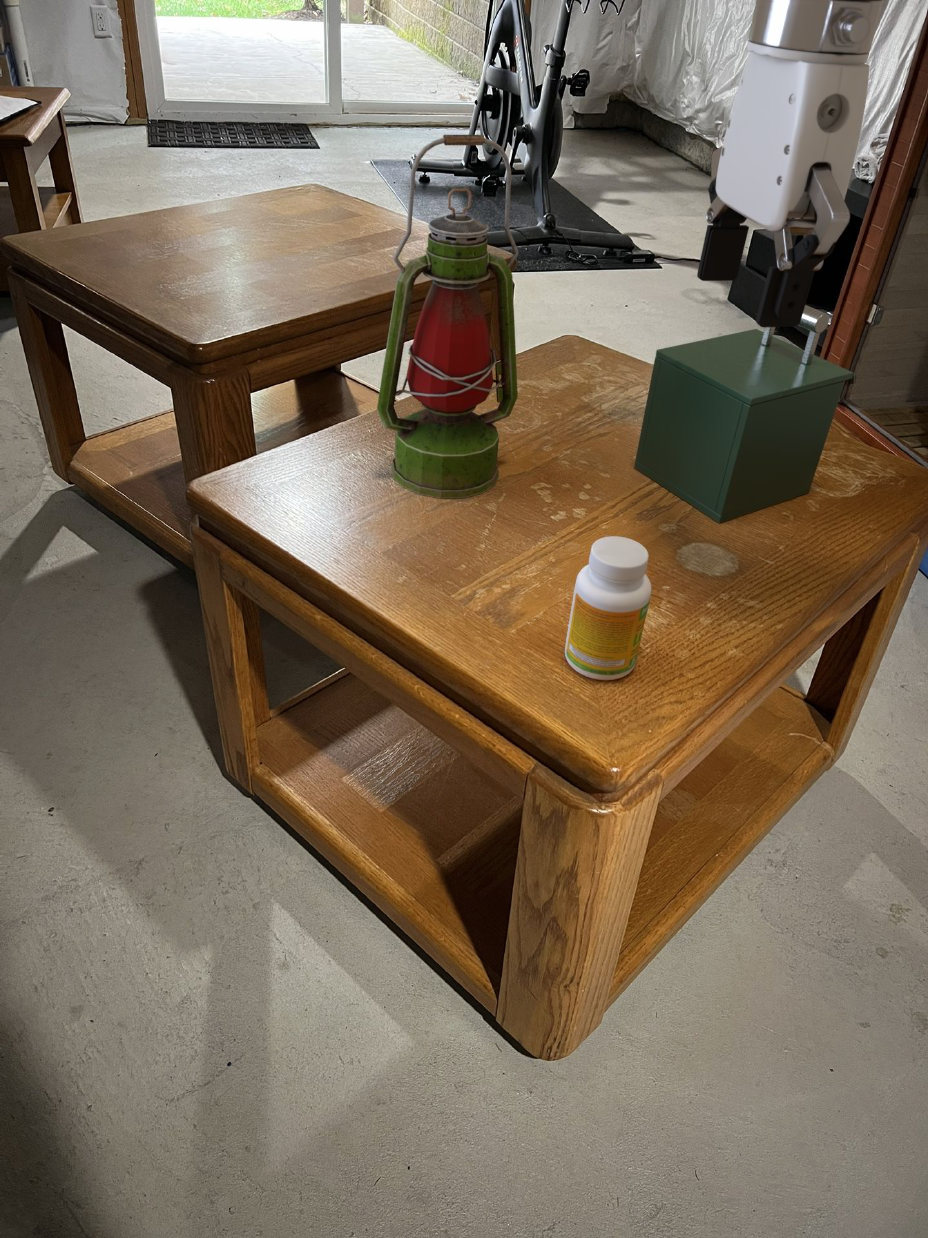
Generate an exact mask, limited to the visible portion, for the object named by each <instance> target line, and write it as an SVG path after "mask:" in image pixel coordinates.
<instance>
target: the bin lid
mask: <svg viewBox="0 0 928 1238" xmlns="http://www.w3.org/2000/svg"><path fill="white" fill-rule="evenodd" d="M829 322H830V315H829V314H828V313H826V312H824V311H821V310H819V309H817V308H815V307H811V306H809V305H807V304H805V308H804V311H803V315H802V318H801V322H800V323H799V324H798V325H797V326H798V327H802V328H804V329H806V330H808V331H809V332H808V337H807V339H806V343H805V347H804V349H802V348H800V347H798V346H796V345H793V344H791V343H789V342H786V341H785V340H783V339H780V338H777V337H775V336H774V333H775V330H776V327H764V330H763V331H762V330H760V329H758V328H753V329H749V330H744V331H740V332H734V333H730V334H725V335H720V336H715V337H711V338H706V339H702V340H695V341H691V342H687V343H682V344H677V345H673V346H668V347H664V348H659V349H656V351H655V356H657V357H659V358H661V359H663V360H665V361H667V362H669V363H671V364H673V365H674V366H676V367H678V368H680V369H682V370H684V371H686V372H688V373H690V374H692V375H694V376H695V377H697V378H699V379H701V380H703V381H705V382H707V383H709V384H711V385H713V386H715V387H716V388H718V389H720V390H722V391H724V392H726V393H728V394H730V395H732V396H734V397H735V398H737V399H739V400H741V401H743V402H745V403H747V404H749V405H754V404H757V403H761V402H765V401H769V400H773V399H776V398H780V397H784V396H788V395H792V394H795V393H799V392H803V391H807V390H810V389H814V388H818V387H822V386H826V385H829V384H833V383H837V382H841V381H845V382H846V381H848V380H851V379H853V376H854V374H855V373H854V372H853V371H851V370H848V369H846V368H844V367H842V366H841V365H837V364H835V363H833V362H831V361H829V360H826V359H824V358H822V357H821V356H820V357H819V356H818V355H815V351H816V348H817V345H818V342H819V338H820V335H821V333H823V332H824V331H825V330H826V329H827V327H828V325H829Z"/></svg>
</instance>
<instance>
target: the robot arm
mask: <svg viewBox="0 0 928 1238" xmlns="http://www.w3.org/2000/svg"><path fill="white" fill-rule="evenodd" d="M884 2H885V0H755V5H754V6H755V7H754V9H753V15H752V19H751V23H750V29H749V33H748V38H747V39H748V40H747V43H746V48H745V50H746V51H747V52H748V55H747V57H746V60H745V63H744V66H743V70H742V73H741V76H740V78H739V82H738V86H737V89H736V92H735V96H734V99H733V103H732V105H731V106H732V107H731V112H730V114H729V118H728V122H727V126H726V129H725V133H724V138H723V142H722V145H721V146H720V147H719V148H717V149H715V150H714V151H713V152H712V155H711V161H710V163H711V164H710V165H711V169H710V170H711V171H710V172H711V174H710V175H711V176H710V179H711V181H710V183H709V185H708V186H709V187H708V188H707V191H708V194H709V202H710V205H709V207H708V208H707V211H706V214H705V216H706V217H705V218H706V222H707V226H706V231H705V235H704V240H703V245H702V250H701V253H700V258H699V264H698V268H697V274H696V276H697V279H699V280H700V281H701V282H723V281H724V282H726V281H727V282H729V281H730V282H731V281H735V280H736V279H738V275H739V271H740V268H741V263H742V259H743V254H744V250H745V246H746V242H747V238H748V234H749V230H750V226H748V225H747V224H744V223H745V222H746V221H747V219H748V220H749V221H751V222H753V223H754V224H756V225H758V226H760V227H761V228H763V229H764V230H767V231H770V232H773V241H774V250H775V259H776V260H775V261H776V265H775V266H774V265H769V268H768V271H767V274H766V278H765V283H764V286H763V289H762V290H763V291H762V294H761V297H760V298H761V299H760V303H759V306H758V310H757V314H756V318H755V323H756V324H757V326H759V327H761V328H765V327H775V328H792V327H794V328H795V327H797V326H799V325H798V324H799V323H800V322H801V318H802V315H803V311H804V308H805V305H807V300H808V297H809V293H810V290H811V287H812V283H813V279H814V277H815V273H816V271H817V272H818V271H820V270H821V269H822V267H823V266H824V260H825V259H827V257H829V256H830V255H831V254H832V253H833V252H834V250H835V248H836V243H837V241H838V240H839V238H840V236H841V235H842V234H843V232H844V231H845V229H846V228H847V226H848V225H849V223H850V219H851V213H850V210H849V208H848V206H847V204H846V202H845V199H846V195H847V192H848V188H849V184H850V180H851V175H852V171H853V169H854V164H855V159H856V155H857V150H858V145H859V142H860V141H859V140H860V136H861V131H862V127H863V120H864V116H865V110H866V103H867V94H868V87H869V76H870V64H866V63H867V62H868V60H869V55H870V51H871V50H872V49H871V48H872V47H873V46H872V45H873V42H874V39H875V35H876V31H877V28H878V24H879V21H880V16H881V13H882V10H883V6H884ZM793 236H802V239H801V240H800V241H798V242H797V244H795V245H794V246H793V238H792V237H793Z"/></svg>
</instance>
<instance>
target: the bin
mask: <svg viewBox="0 0 928 1238" xmlns="http://www.w3.org/2000/svg"><path fill="white" fill-rule="evenodd" d="M845 382H846V380H845V381H841V382H837V383H833V384H829V385H826V386H822V387H818V388H814V389H810V390H807V391H803V392H799V393H795V394H792V395H788V396H784V397H780V398H776V399H773V400H769V401H765V402H761V403H757V404H754V405H749V404H747V403H745V402H743V401H741V400H739V399H737V398H735V397H734V396H732V395H730V394H728V393H726V392H724V391H722V390H720V389H718V388H716V387H715V386H713V385H711V384H709V383H707V382H705V381H703V380H701V379H699V378H697V377H695V376H694V375H692V374H690V373H688V372H686V371H684V370H682V369H680V368H678V367H676V366H674V365H673V364H671V363H669V362H667V361H665V360H663V359H661V358H659V357H657V356H656V355H655V357H654V361H653V367H652V372H651V377H650V383H649V387H648V393H647V398H646V404H645V408H644V412H643V413H644V414H643V418H642V425H641V429H640V434H639V440H638V444H637V450H636V454H635V455H636V456H635V459H634V460H635V461H634V466H633V468H634V469H635V470H636V471H638V472H640V473H642V474H643V475H645V477H647V478H649V479H650V480H652V481H654V482H655V483H657V484H658V485H659V486H661V487H663V488H664V489H666V490H667V491H669V492H670V493H672V494H673V495H675V496H676V497H678V498H679V499H681V500H682V501H684V502H686V503H687V504H689V505H690V506H692V507H693V508H695V509H696V510H698V511H700V512H701V513H703V515H705V516H707V517H709V518H710V519H712V520H713V521H714V522H716V523H718V524H721V523H724V522H728V521H731V520H733V519H737V518H739V517H743V516H745V515H748V514H751V513H754V512H758V511H760V510H763V509H766V508H768V507H772V506H775V505H777V504H781V503H783V502H786V501H789V500H792V499H795V498H798V497H801V496H803V495H806V494H807V495H808V494H809V493H810V490H811V487H812V484H813V481H814V477H815V475H816V472H817V469H818V466H819V463H820V460H821V457H822V455H823V450H824V447H825V444H826V441H827V438H828V435H829V432H830V429H831V426H832V424H833V420H834V417H835V414H836V410H837V408H838V404H839V401H840V398H841V395H842V392H843V390H844V386H845Z"/></svg>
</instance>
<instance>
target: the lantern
mask: <svg viewBox="0 0 928 1238" xmlns="http://www.w3.org/2000/svg"><path fill="white" fill-rule="evenodd" d="M442 144H443V145H444V146H483V145H488V146H490V147H492V148H493V149H495V150H496V151H497V152H499V155H500V156H501V158H502V159H503V162H504V167H505V170H506V176H505V177H506V180H505V181H506V182H505V203H504V204H505V205H504V206H505V207H504V232H505V234H506V237H507V239H508V242H509V245H510V246H511V248H512V250H513V254H512V256H511V257H510V259H508V261H506V260H505V258H504V257H503V256H501V255H497V254H494V253H490V252H489V251H488V243H489V241H488V238H487V237H488V236H486V235H487V234H488V233H489V226H488V225H487V224H486V223H484V222H482V221H481V220H478V219H476V218H474V217H473V216H470V215H467V214H466V211H468V210H470V209H471V206H472V197H473V195H472V192H471V190H469V188H468V187H464V188H463V187H462V188H455V187H453V188H452V189H451V190H450V191H449V192H448V195H447V208H448V210H449V211H451V213H449V214H446V215H444V216H440V217H437V218H433V219H431V220H430V221H429V222H428V226H427V227H428V230H429V231H430V233H428V234H427V247H426V252H425V254H424V255H421V256H419V257H416V258H413V259H410V260H408V262H407V263H406V265H405V266H403V263H402V262H401V261H400V259H399V257H400V254H401V253H402V251H403V249H404V247H405V245H406V244H407V241H408V240H409V238H410V236H411V234H412V226H413V214H414V213H413V211H414V201H415V200H414V199H415V197H414V196H415V184H416V173H417V170H418V167H419V164H420V162H421V160H422V158H423V157H424V156H425V155H426V153H428V152H429V151H430V150H432V149H433V148H434V147H436V146H439V145H442ZM412 164H413V165H412V168H411V170H410V178H409V192H408V193H409V194H408V207H407V208H408V209H407V220H406V222H407V223H406V231H405V233H404V235H403V237H402V239H401V240H400V243H399V244H398V247H397V249H396V250H395V252H394V255H393V257H392V258H393V261H394V263H395V265H396V266H397V268H398V269H399V271H400V273H399V275H398V276H397V279H396V283H395V289H394V296H393V302H392V309H391V315H390V321H389V329H388V333H387V334H388V335H387V341H386V348H385V353H384V361H383V366H382V373H381V379H380V386H379V393H378V399H377V406H376V410H377V413H378V416H379V419H380V422H381V425H382V427H383V429H387V430H391V431H394V432H395V434H394V435H395V436H394V443H395V444H394V458H393V459H392V462H391V472H392V473H391V474H392V478H393V479H394V480H395V481H396V482H397V483H398V484H399V485H400V486H401V487H402V488H404V489H407V490H408V491H411V492H413V493H415V494H418V495H419V496H426V497H431V498H436V499H465V498H468V497H473V496H478V495H482V494H483V493H485V492H486V491H488V490H489V489H491V488H493V487H494V486H495V485H496V483H497V481H498V479H499V476H500V475H499V474H500V472H499V466H498V456H499V455H498V454H499V444H500V434H499V432H498V428H497V426H496V425H494V424H495V423H497V422H499V421H502V420H503V419H506V418H508V417H510V416H511V414H512V411H513V409H514V406H515V404H516V402H517V400H518V397H519V395H518V370H517V369H518V368H517V349H516V325H515V323H516V322H515V307H514V306H515V305H514V304H515V302H514V301H515V299H514V282H513V281H514V280H513V277H514V276H513V273H512V270H511V268H510V267H511V266H512V265H513V263H514V262H515V260H516V259H517V258H518V256H519V249H518V247H517V245H516V242H515V239H514V237H513V235H512V233H511V230H510V213H511V212H510V210H511V209H510V208H511V189H512V188H511V186H512V168H511V164H510V160H509V157H508V155H507V153H506V151H505V149H503V147H502V146H501V145H499V144H498V143H497V142H496V141H494V140H492V139H489V138H486V137H485V135H484V134H443V135H442V137H440V138H438V139H435V140H432V141H431V142H429V143H428V144H426V145H425V146H423V148H422V149H421V150H420V151H419V153H418V154H417V155H416V156H415V158H414V161H413V163H412ZM454 192H466V193H467V194H468V202H467V203H468V204H467V206H465V207H463V209H462V211H461V212H456V209H455V207H453V206H451V201H452V195H453V193H454ZM491 273H492V274H493V275H494V279H495V288H496V289H495V291H496V305H497V307H496V308H497V309H496V310H497V326H498V344H499V345H498V346H499V360H498V361H497V360H496V354H495V350H494V348H492V347H491V343H490V341H491V340H490V333H489V328H488V323H487V318H486V312H485V307H484V303H483V300H482V296H481V293H480V290H479V286H478V285H479V283H482V282H483V281H487V280H488V279H489V277H490V276H491ZM421 274H422V275H424V276H425V277H427V279H431V280H432V282H431V285H430V287H429V289H428V292H427V294H426V297H425V300H424V302H423V305H422V308H421V312H420V314H419V317H418V321H417V324H416V327H415V332H414V335H413V341H412V344H410V345H409V348H408V352H407V353H408V355H409V361H408V365H407V371H406V376H405V378H404V381H403V384H402V388H401V389H398V386H399V385H398V384H399V378H400V372H401V366H402V361H403V360H402V359H403V354H404V347H405V343H406V342H405V341H406V335H407V329H408V324H409V323H408V322H409V316H410V310H411V305H412V300H413V299H412V298H413V293H414V285H415V282H416V280H417V278H418V277H419V276H420V275H421ZM493 369H494V370H495V371H494V373H495V378H494V374H493ZM494 384H495V385H494ZM407 385H408V389H409V390H407V389H406V386H407ZM397 389H398V390H397ZM494 390H495V391H496V393H495V394H496V402H497V403H498V406H497V408H494V409H493V410H489V411H486V412H483V413H481V414H477V413H476V412H475V410H476V408H477V406H479V405H480V404H482V403H484V402H486V400H487V399H488V397H489V395H490V393H491V392H492V391H494ZM403 393H404V394H409V395H411V396H412V397H413V398H414V399H416V400H417V401H418V402H419V403H421V407H422V408H424V409H420V410H418V411H415V412H413V413H410V414H409V415H407V416H405V417H398V415H397V412H396V409H395V402H396V397H397V396H400V395H402V394H403Z"/></svg>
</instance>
